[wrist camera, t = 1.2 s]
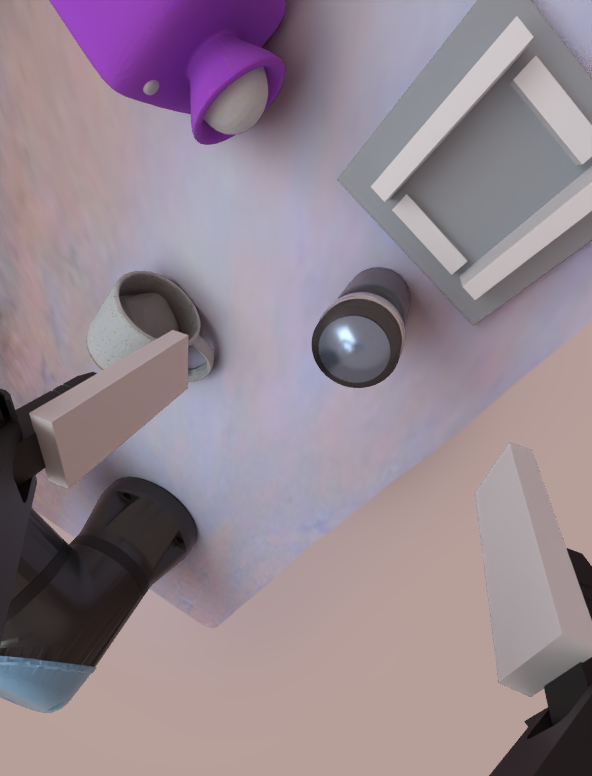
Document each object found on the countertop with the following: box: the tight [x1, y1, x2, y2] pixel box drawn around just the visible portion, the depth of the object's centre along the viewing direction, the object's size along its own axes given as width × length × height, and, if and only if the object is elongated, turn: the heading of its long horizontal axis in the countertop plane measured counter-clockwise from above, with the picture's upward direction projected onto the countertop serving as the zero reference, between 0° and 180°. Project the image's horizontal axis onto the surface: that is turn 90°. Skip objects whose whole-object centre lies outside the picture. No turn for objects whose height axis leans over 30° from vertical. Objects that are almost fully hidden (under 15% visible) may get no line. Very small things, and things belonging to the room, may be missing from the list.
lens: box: [312, 267, 410, 388], centre depth 24 cm, size 5×5×10 cm
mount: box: [337, 0, 592, 326], centre depth 21 cm, size 12×14×4 cm
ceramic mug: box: [87, 271, 214, 382], centre depth 33 cm, size 11×8×8 cm
